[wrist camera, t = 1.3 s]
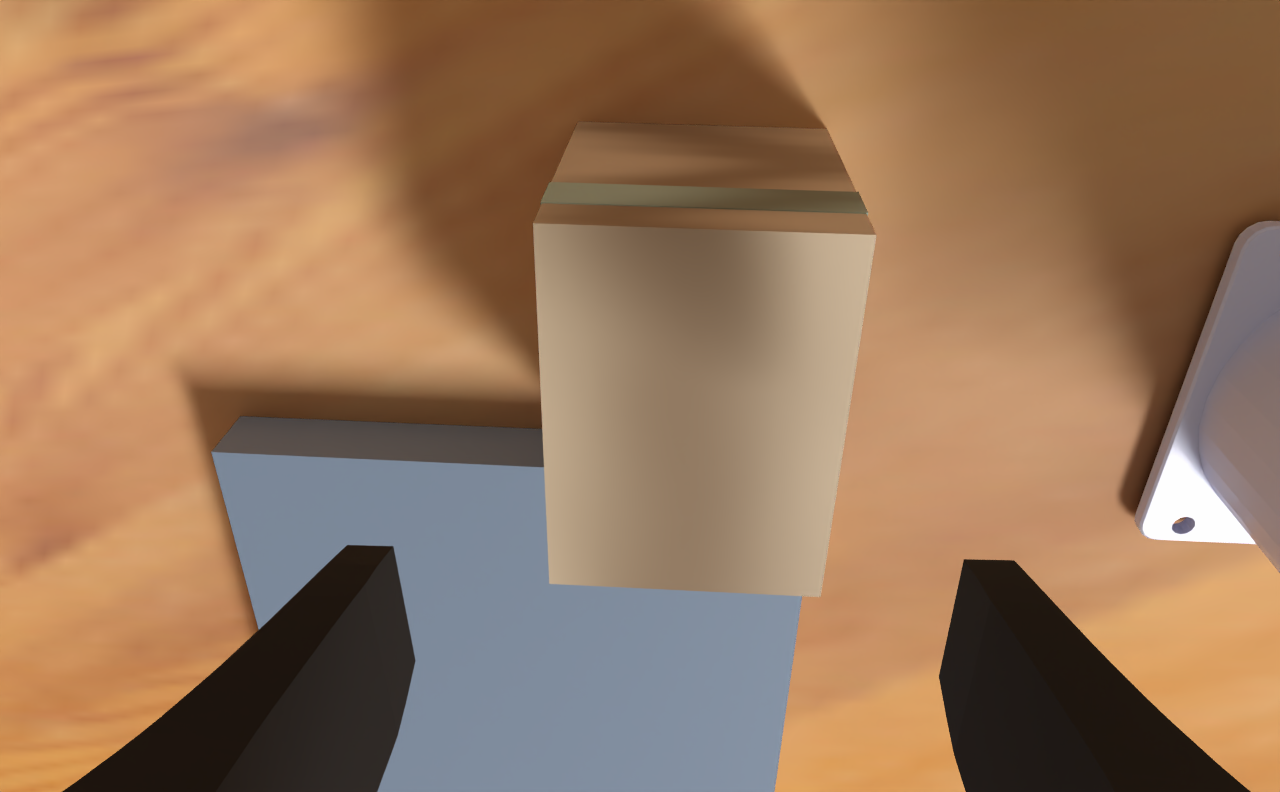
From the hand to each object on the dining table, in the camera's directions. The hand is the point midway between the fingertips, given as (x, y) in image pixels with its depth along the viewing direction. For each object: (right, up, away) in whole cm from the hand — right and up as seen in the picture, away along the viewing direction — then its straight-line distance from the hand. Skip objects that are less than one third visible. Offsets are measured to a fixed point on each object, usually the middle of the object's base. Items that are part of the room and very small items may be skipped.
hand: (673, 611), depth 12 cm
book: (-3, -6, +16) cm, 17 cm away
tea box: (+1, +5, +9) cm, 10 cm away
